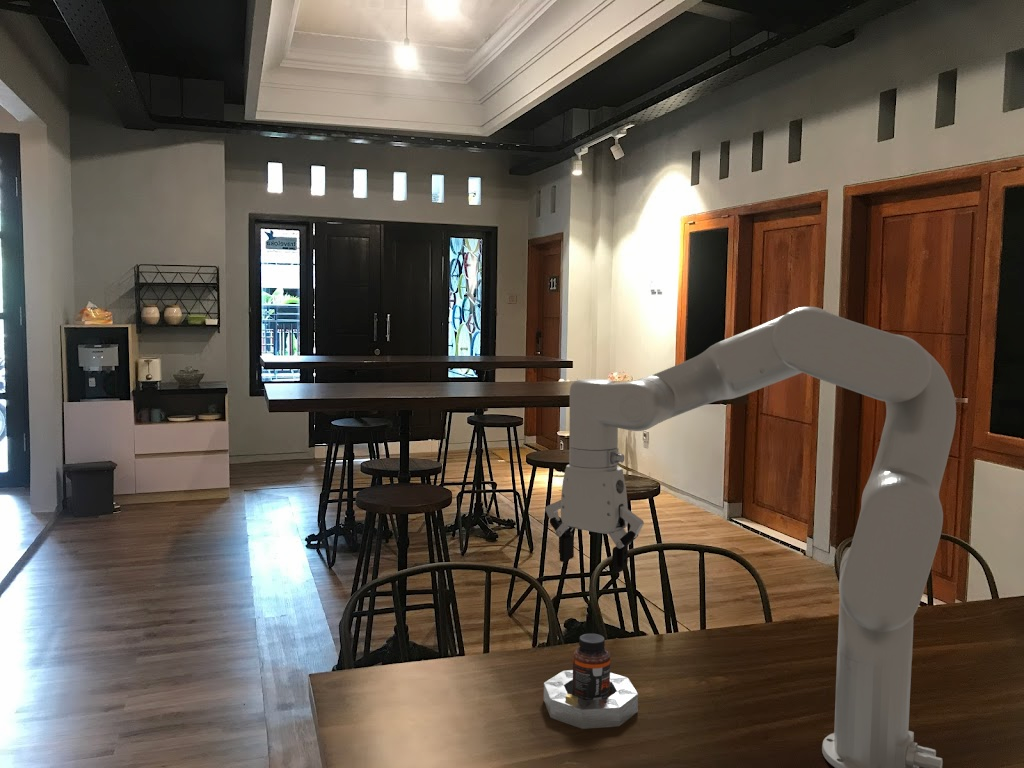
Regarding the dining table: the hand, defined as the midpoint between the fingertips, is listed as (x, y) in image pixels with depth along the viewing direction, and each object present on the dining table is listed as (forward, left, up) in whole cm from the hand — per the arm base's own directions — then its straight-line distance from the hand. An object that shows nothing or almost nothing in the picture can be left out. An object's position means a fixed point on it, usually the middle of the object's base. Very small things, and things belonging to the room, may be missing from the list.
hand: (592, 565), depth 131 cm
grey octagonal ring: (0, 0, -23) cm, 23 cm away
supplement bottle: (0, 0, -23) cm, 23 cm away
